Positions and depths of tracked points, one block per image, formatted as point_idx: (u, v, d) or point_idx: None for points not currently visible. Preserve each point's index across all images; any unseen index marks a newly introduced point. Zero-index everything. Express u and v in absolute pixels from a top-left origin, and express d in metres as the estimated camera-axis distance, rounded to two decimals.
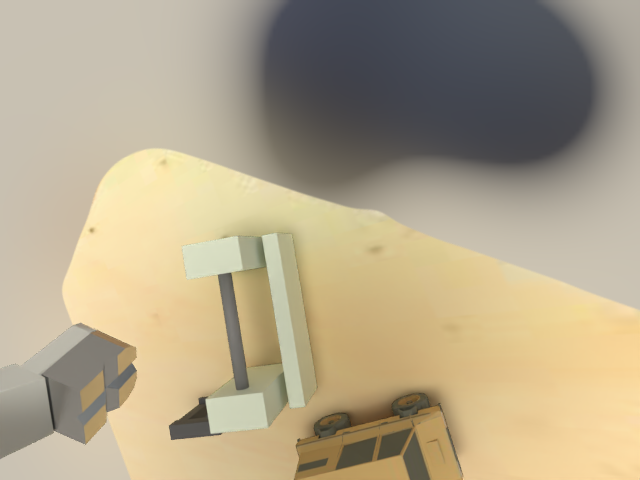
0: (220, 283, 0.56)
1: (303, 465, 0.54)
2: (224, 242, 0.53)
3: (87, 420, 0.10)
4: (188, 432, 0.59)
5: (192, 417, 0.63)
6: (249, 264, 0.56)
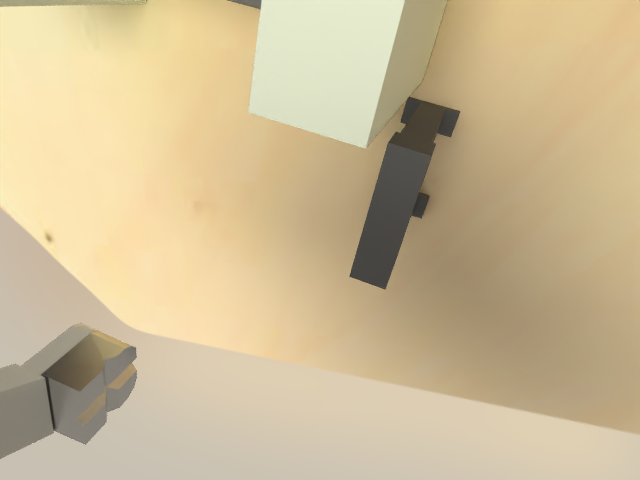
0: None
1: None
2: None
3: (87, 420, 0.10)
4: (386, 240, 0.21)
5: None
6: None
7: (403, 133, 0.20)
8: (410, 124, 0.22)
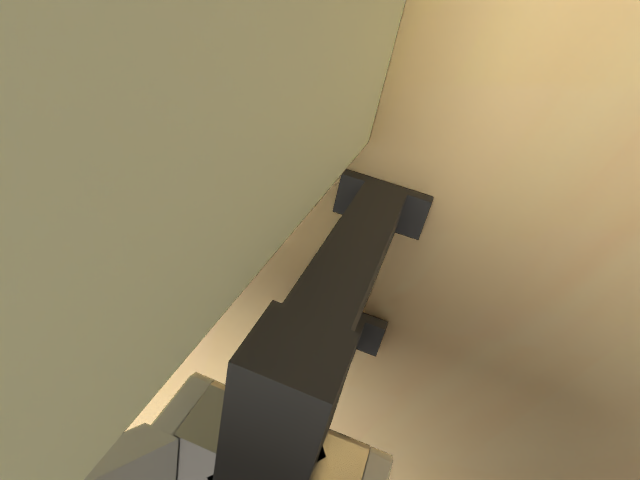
0: None
1: None
2: None
3: None
4: None
5: None
6: None
7: (290, 303, 0.09)
8: (320, 260, 0.10)
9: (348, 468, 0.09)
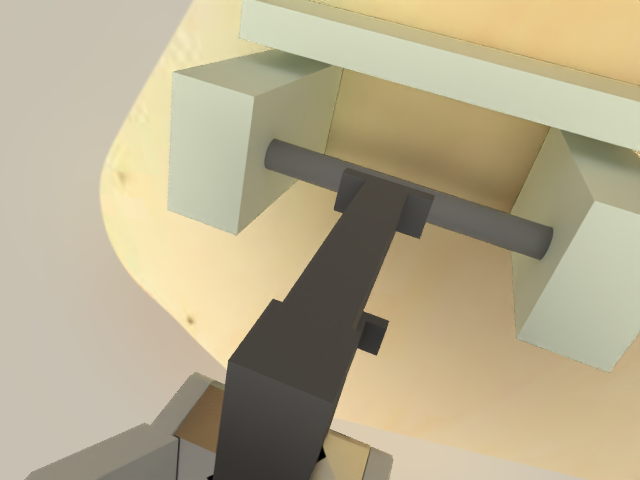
0: (284, 172, 0.23)
1: None
2: (181, 111, 0.21)
3: None
4: None
5: None
6: (266, 83, 0.22)
7: (290, 301, 0.09)
8: (320, 259, 0.10)
9: (348, 468, 0.09)
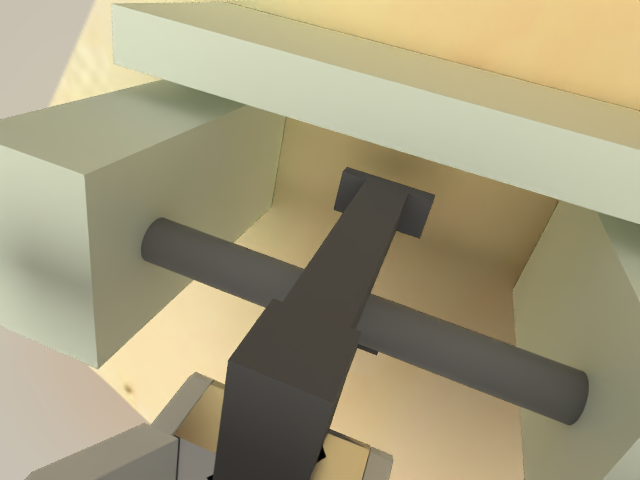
0: (172, 270, 0.15)
1: None
2: None
3: None
4: None
5: None
6: (132, 140, 0.14)
7: (290, 301, 0.09)
8: (320, 258, 0.10)
9: (348, 468, 0.09)
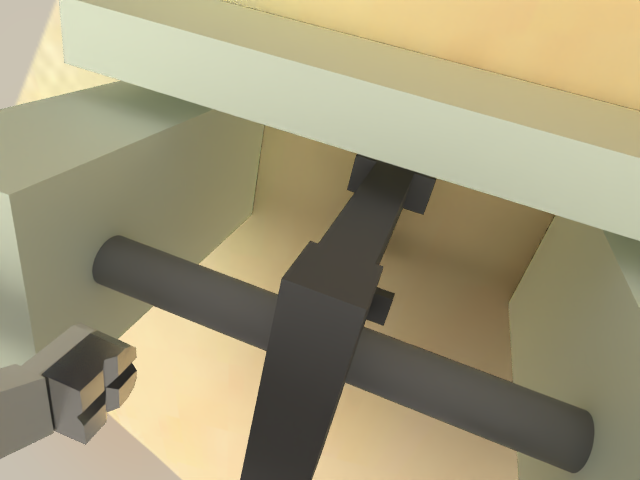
0: (129, 294, 0.14)
1: None
2: None
3: (87, 420, 0.10)
4: (295, 438, 0.11)
5: None
6: (76, 151, 0.12)
7: (324, 243, 0.11)
8: (345, 216, 0.12)
9: None
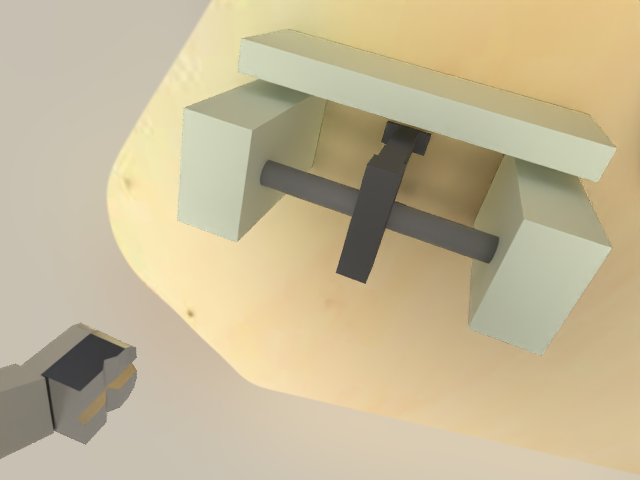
0: (277, 188, 0.28)
1: None
2: (190, 140, 0.25)
3: (87, 420, 0.10)
4: (366, 243, 0.25)
5: None
6: (262, 115, 0.26)
7: (380, 155, 0.25)
8: (387, 147, 0.26)
9: None
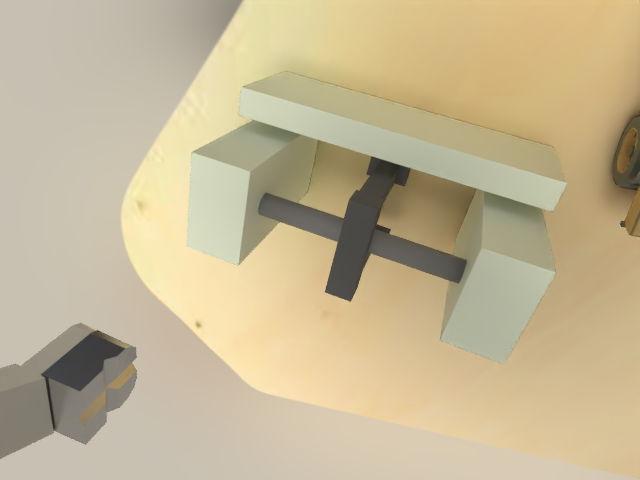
0: (273, 218, 0.32)
1: None
2: (197, 179, 0.29)
3: (87, 420, 0.10)
4: (350, 266, 0.29)
5: None
6: (259, 155, 0.30)
7: (361, 191, 0.29)
8: (368, 182, 0.30)
9: None
